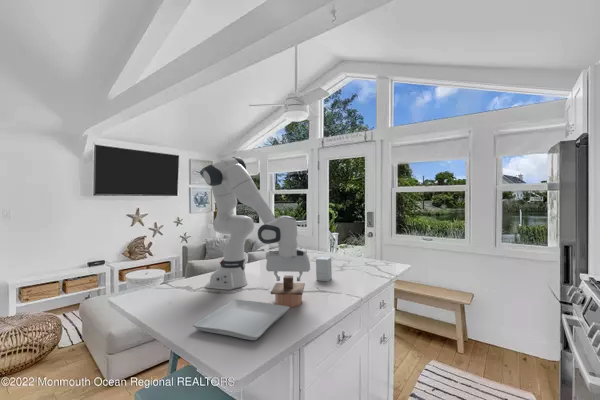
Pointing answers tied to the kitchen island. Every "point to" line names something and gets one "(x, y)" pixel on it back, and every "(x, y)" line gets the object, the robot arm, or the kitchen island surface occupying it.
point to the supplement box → (323, 269)
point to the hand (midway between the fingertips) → (288, 280)
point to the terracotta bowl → (288, 300)
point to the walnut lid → (288, 287)
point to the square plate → (242, 319)
